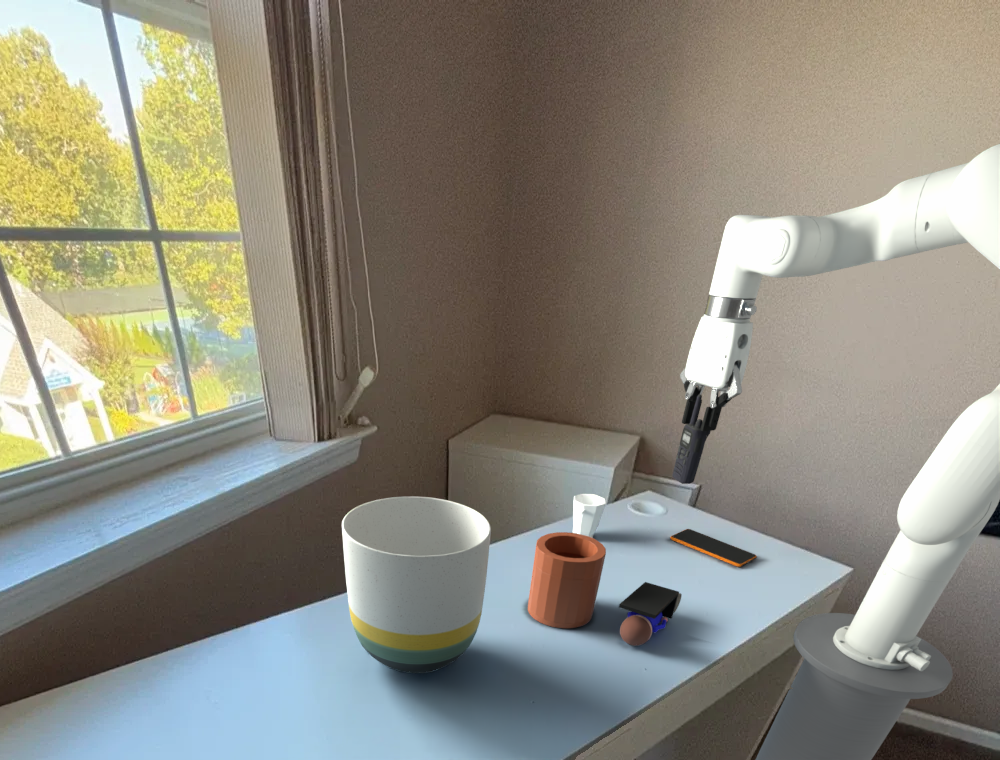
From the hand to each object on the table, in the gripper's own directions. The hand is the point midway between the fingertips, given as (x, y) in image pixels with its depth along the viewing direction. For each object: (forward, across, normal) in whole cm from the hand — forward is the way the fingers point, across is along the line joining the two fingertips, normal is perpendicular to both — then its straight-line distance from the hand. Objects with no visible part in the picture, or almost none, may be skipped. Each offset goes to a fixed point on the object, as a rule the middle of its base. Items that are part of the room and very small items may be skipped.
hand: (698, 425), depth 117 cm
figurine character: (+25, -24, +25) cm, 42 cm away
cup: (+24, +11, +14) cm, 30 cm away
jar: (+24, -13, +35) cm, 45 cm away
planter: (+25, -17, +64) cm, 71 cm away
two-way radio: (+10, 0, 0) cm, 10 cm away
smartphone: (+25, -3, -10) cm, 27 cm away
